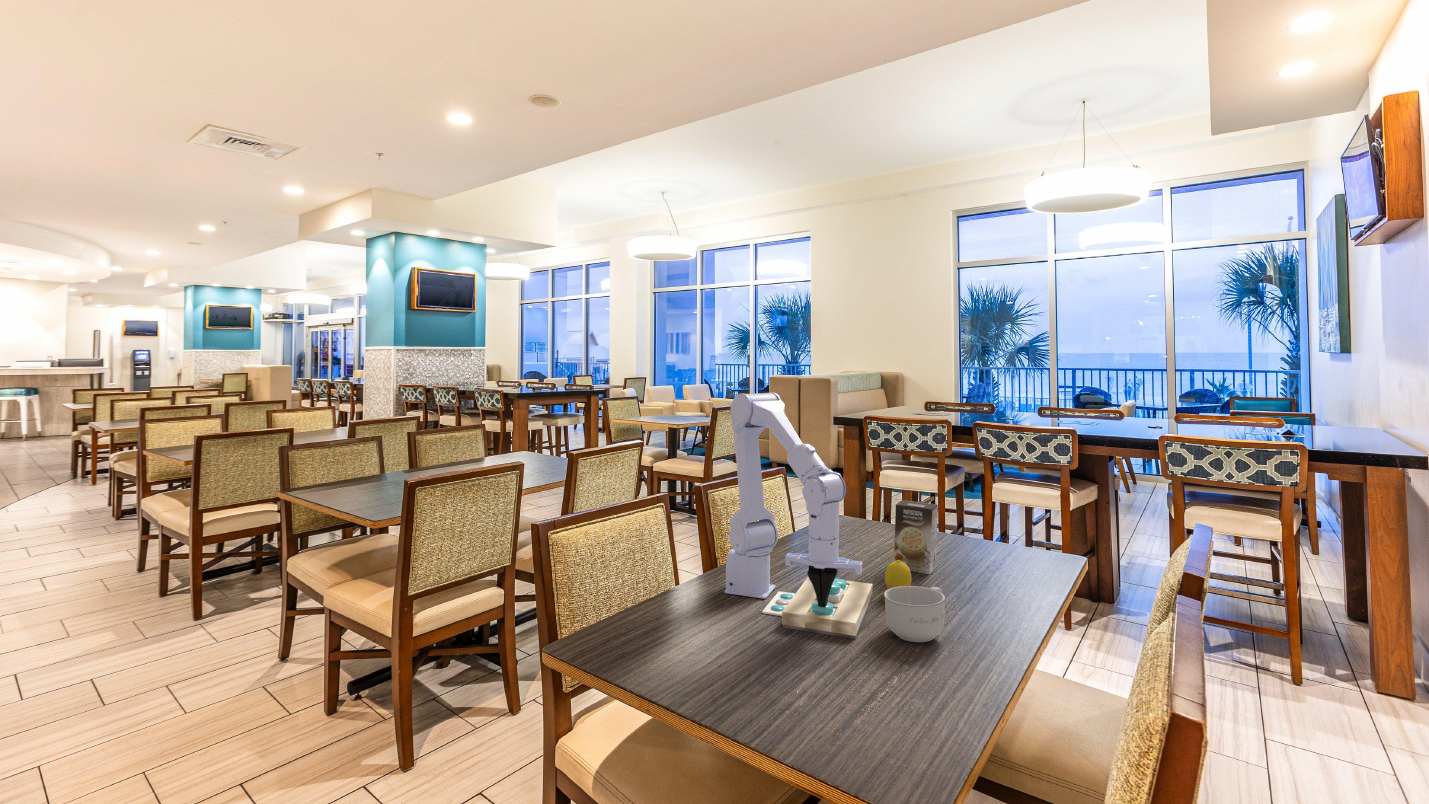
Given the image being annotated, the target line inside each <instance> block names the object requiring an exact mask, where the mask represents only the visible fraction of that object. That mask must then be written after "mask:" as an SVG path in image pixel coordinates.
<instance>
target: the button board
mask: <svg viewBox="0 0 1429 804" xmlns="http://www.w3.org/2000/svg"><path fill="white" fill-rule="evenodd" d="M806 577H807V578H806V579H805V580H804V582H803V583H802V585H801V586H800V587H799V588H798V589H797V591H796V592H795V595H794V596H793V598H792V599H791V600H790V602H789V603H788V604H787V606H786V607H785V609H784V610H783V611H782V616H781V627H782V628H784V629H791V630H796V631H797V630H798V631H802V632H803V631H804V632H808V633H809V632H810V633H815V634H821V635H828V636H834V637H838V638H840V637H841V638H845V639H852V640H856V639H857V637H858V634H859V632H860V629H861V628H862V627H861V626H862V624H863V623H864V622H863V621H864V619H865V616H866V614H867V612H868V609H869V607H870V604H871V601H872V600H873V589H874V588H873V585H874V584H873V583H868V582H859V581H853V580H852V581H851V580H845V581H846V585H849V587H848V589H847V591H843V598H842V600H841V602H840V603H835V602H829V603H831V604H833V608H835V609H836V612H835V614H834V616H826V615H820V614H813V613H810V611H811V609H812V604H813V603H814V602H817V597H816V593H815V590H814V587H813V585H812V583H811V581H810V579H809V577H808V576H806Z"/></svg>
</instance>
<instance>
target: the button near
mask: <svg viewBox="0 0 1429 804" xmlns="http://www.w3.org/2000/svg"><path fill="white" fill-rule="evenodd" d="M835 612H836V609H835V608H833V604H831V603H829V602H828V603H827V606H826V607H819V606H818V601H817V602H814V603H813V604H812V609H811V611H810V613H813V614H820V615H826V616H834V614H835Z"/></svg>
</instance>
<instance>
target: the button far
mask: <svg viewBox="0 0 1429 804" xmlns="http://www.w3.org/2000/svg"><path fill="white" fill-rule="evenodd" d="M846 581H847V580H846ZM846 581H845V580H844V579H842V578H836V577H835V579H834V581H833V582H835V583H838V584H839V585H840V588H841V589H843V591H847V589H848V587H849V585H846Z"/></svg>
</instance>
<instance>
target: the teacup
mask: <svg viewBox="0 0 1429 804" xmlns="http://www.w3.org/2000/svg"><path fill="white" fill-rule="evenodd" d="M883 597H884V605H885V607H884V608H885V610H884V611H885V612H884V613H885V620H886V623H887V626H888V628H889V630H890V631H891V632H892V633H893V634H895V635H896V636H897V637H898V638H899V639H901V640H903V641H906V642H911V643H926V642H927V643H928V642H930V641H932V640H934V639H936V637H937V636H939V635H940V634H941V633H942V632H943V630H944V628H945V617H946V616H945V614H946V613H945V611H946V610H945V601H946V597H945V595H944V593H943V590H942V589H941V588H940V587H938V586H932V587H930V588H929V587H925V586H920V585H919V586H918V585H911V586H899V587H894V588H890V589H888V588H887V589H886V590H885V591H884V593H883Z"/></svg>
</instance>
